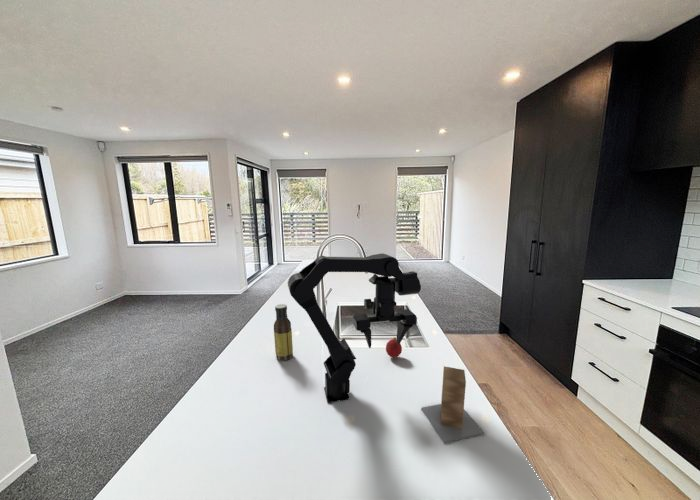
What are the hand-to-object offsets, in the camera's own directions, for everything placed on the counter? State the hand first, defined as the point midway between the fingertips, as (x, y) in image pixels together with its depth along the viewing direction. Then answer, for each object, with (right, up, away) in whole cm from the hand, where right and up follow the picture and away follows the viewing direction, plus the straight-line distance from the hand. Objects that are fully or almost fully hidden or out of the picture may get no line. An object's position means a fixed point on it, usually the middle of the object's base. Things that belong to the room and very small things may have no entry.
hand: (383, 345), depth 82 cm
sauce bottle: (-35, -10, +17) cm, 40 cm away
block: (+16, -15, -12) cm, 25 cm away
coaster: (+16, -15, -12) cm, 25 cm away
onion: (+6, -11, +17) cm, 21 cm away
